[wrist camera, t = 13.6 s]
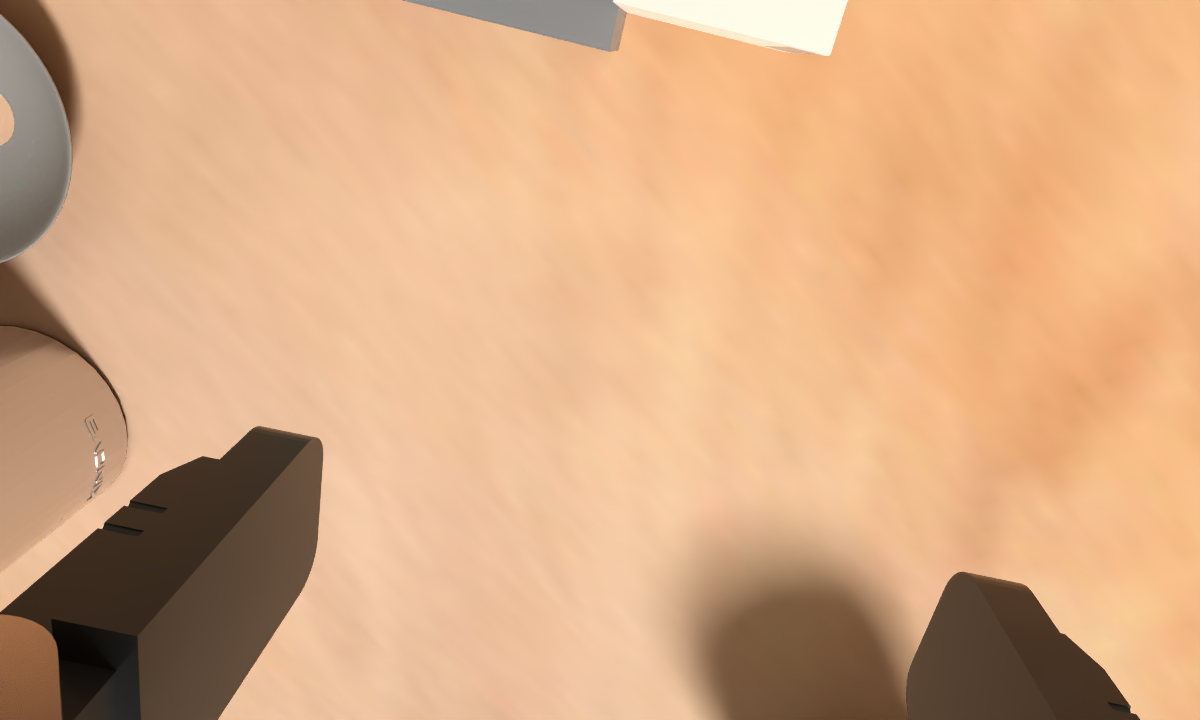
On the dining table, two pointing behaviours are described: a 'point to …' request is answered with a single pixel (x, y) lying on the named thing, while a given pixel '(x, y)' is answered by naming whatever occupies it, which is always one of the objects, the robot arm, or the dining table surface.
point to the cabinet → (666, 19)
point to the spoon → (30, 147)
